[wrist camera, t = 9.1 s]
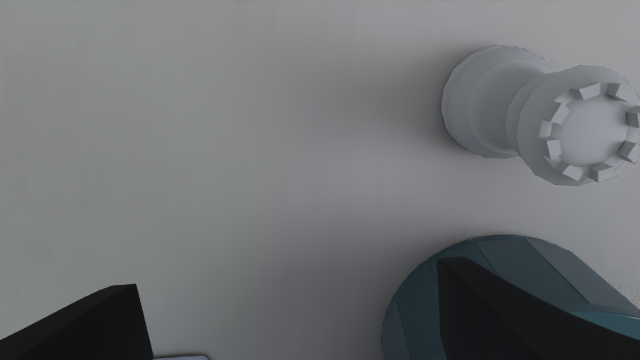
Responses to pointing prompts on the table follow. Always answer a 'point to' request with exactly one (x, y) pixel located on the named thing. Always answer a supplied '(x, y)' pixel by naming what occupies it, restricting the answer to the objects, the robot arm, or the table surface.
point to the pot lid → (600, 319)
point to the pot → (503, 260)
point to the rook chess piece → (543, 114)
